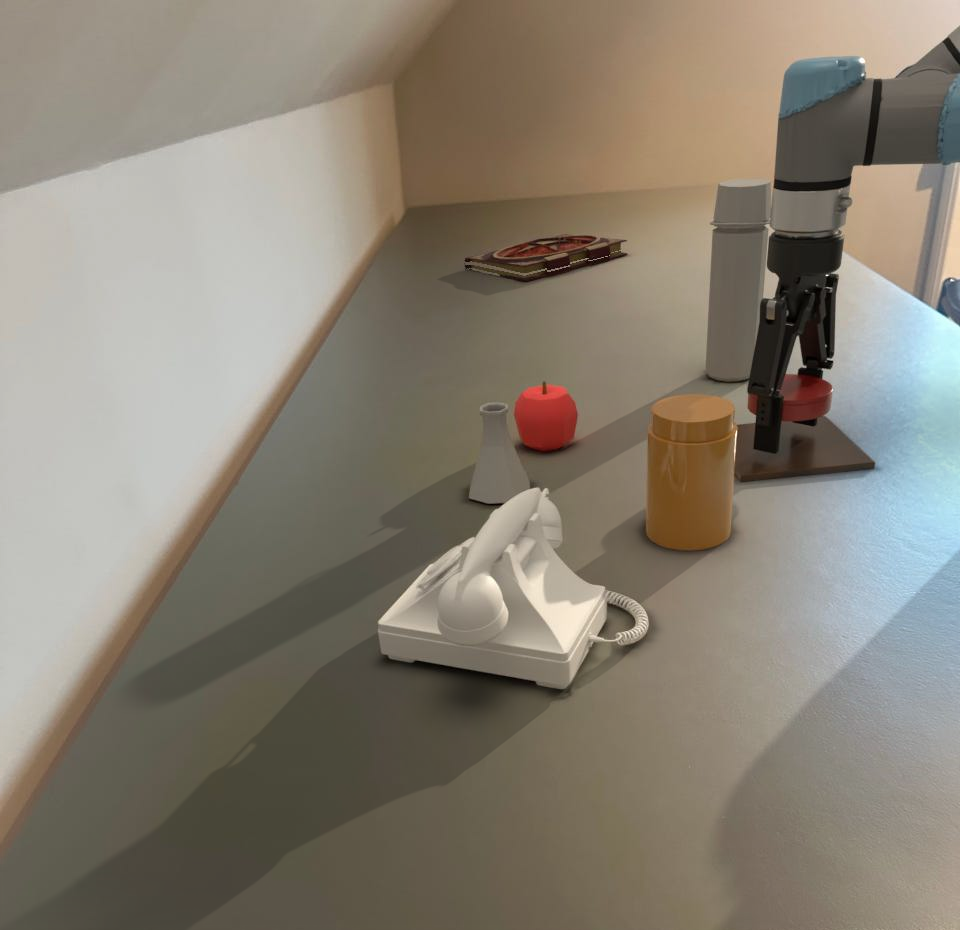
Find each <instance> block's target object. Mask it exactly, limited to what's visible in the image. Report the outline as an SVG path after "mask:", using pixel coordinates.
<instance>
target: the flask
mask: <svg viewBox="0 0 960 930" xmlns="http://www.w3.org/2000/svg"><path fill="white" fill-rule="evenodd" d="M508 413H509V404H508V403H504V402H487V403H484V404H482V405H481V406H479V415H480V416H481V417H482V440H481V443H480V448H479V451H478V457H477V460H476V464H475V467H474V471H473V475H472V478H471V482H470V485H469V493H468V499H470V500H473V501H477V502H481V503H484V504H488V505H490V504H505V503H506V502H507V501H509V500H510V499H512V498H513V497H515V496H516V495H518V494H520V493H522V492H524V491H526V490H529V489H531V481H530V479H529V477H528V474H527V473H526V470H525V468H524V465H523V464H522V462H521V460H520V457H519V456H518V453H517V450H516V447H515V446H514V443H513V441H512V438H511V435H510V434H511V433H510V431H509V428H508V422H507V421H508V420H507V414H508Z"/></svg>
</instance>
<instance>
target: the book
mask: <svg viewBox="0 0 960 930" xmlns="http://www.w3.org/2000/svg"><path fill="white" fill-rule="evenodd" d="M625 242H628V239H619V238H611V237H601V236H599V235H595V234H569V233H564V234H560V235H559V234H558V235H555V236H550V237H545V238H544V237H543V238H537V239H534V240H529V241H525V242H521V243H517V244H514V245H510V246H508V247H504V248H501V249H497V250H493V251H488V252H485V253H481V254H476V255H472V256H467V257H464V261H465V262H470V261H472V262H477V263H482V264H487V265H491V266H496V267H500V268H504V269H507V270H511V271H515V272H520V273H529V272H532V271H537V270H541V269H545V268H547V270H551V269H555V268H560V267H564V266H568V265H570V267H566V268H562V269H559V270H555V271H551V272H547V270H545V271H541V272H537V273H533V274H529V275H526V276H523V275H519V274H514V273H509V272H504V271H499V270H494V269H489V268H484V267H480V266H475V265H465V264H464V268H468V269H469V268H475V269H479V270H483V271H487V272H492V273H497V274H499V275H500V276H503V277H506V278H505V279H508V278H510V279H509V280H513V281H514V280H516V281H519V282H530V281H533V280H537V279H542V278H545V277H547V278H549V277H554V276H557V275H562V274H564V273H568V272H570V271H572V270H575V269H579V268H583V267H592V266H595V265H598V264H604V263H607V262H609V261H610V260H613V259H616V258H621V257H625V256H627V255H628V252H622V248H621V245H622V243H625ZM619 250H621V251H619ZM615 251H618V252H615ZM611 252H614V253H611ZM609 255H610V256H609ZM605 256H608V257H605ZM601 257H604V258H601ZM585 258H589V259H587V260H583V261H579V262H576V263H572V264H570V262H573V261H577V260H581V259H585ZM597 258H601V259H597ZM593 259H597V260H593ZM588 260H593V261H588ZM503 277H502V278H503Z"/></svg>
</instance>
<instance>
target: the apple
mask: <svg viewBox="0 0 960 930" xmlns="http://www.w3.org/2000/svg"><path fill="white" fill-rule="evenodd" d="M576 404H577V403H576V401H575V400H574V399H573V398H572V396H571V395H570V394H569V392H568V390H567V389H566V388H565V386H560V385H552V384H547V381H545V380H543V381H542V385H536V386H531V387H529V388H527V389H525V390H523V391H522V392H521V393H520V395H519V397H518V398H517V399H516V401H515V404H514V410H513V417H514V420H515V421H514V422H515V424H516V429H517V432H518V436H519V439H520V441H521V442H522V444H523V445H525V446H527V447H528V448H530V449H532V450H535V451H540V452H543V453H544V452H549V451H555V450H558V449H560V448H563V447H564V446H566V445H567V444H568V443H569V442H571V441H572V440H573V439H574V438H575V434H576V428H577V424H578V423H577V422H578V416H579V413H578V409H577V405H576Z"/></svg>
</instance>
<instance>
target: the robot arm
mask: <svg viewBox="0 0 960 930" xmlns="http://www.w3.org/2000/svg"><path fill="white" fill-rule="evenodd" d="M782 80H783V81H782V89H781V96H780V103H779V111H778V115H777V117H778V118H777V132H776V147H775V160H774V174H773V175H774V176H773V178H774V179H773V185H772V193H771V215H770V219H769V220H770V224H769V228H771V229H772V230H773V232H772V233H771V234H770V235H768V243H767V255H766V268H767V270H768V271H769V272H770V273H772V274H774V275H776V276H777V278H778V281H777V285H776V289H775V293H774V296H773V298H767V297H763V299H762V300H761V303H760V322H759V328H758V333H757V339H756V344H755V350H754V355H753V360H752V366H751V371H750V377H749V379H748V383H747V388H746V393H747V395H748V394H752V395H757V396H758V399H757V410H756V415H755V422H754V423H755V434H754V446H753V449H755V450H759V451H764V452H769V453H773V454H776V453H777V452H778V450H779V440H780V430H781V420H782V410H783V400H784V396H783V395H779V394H780V391H781V388H782V385H783V381H784V378H785V374H787V370H788V368H789V364H790V360H791V357H792V354H793V351H794V350H793V349H794V347H795V344H796V341H797V337H798V341H799V347H800V354H801V355H800V356H801V361H802V366H801V367H799V368H797V374H799V375H807V376H813V377H817V378H820V379H823V378H824V377H823V375H824V370H832V368H833V366H834V360H831V359H833V358H834V357H835V352H836V351H835V346H836V313H837V312H836V308H837V307H836V305H837V292H838V291H837V290H838V284H839V278H840V275H839V274H838V273H835V272H836V271H838V270H839V269H840V267H841V266H842V259H843V251H844V243H845V234H844V233H843V231H842V230H840V229H842V228H843V227H844V226H845V225H846V224H847V223H846V222H847V215H848V208H850V207H851V206H852V204H853V198H852V197H850V189H851V184H852V176H853V175H852V173H853V169H854V167H858V166H859V167H861V166H863V167H870V166H882V165H883V166H889V165H890V166H891V165H892V166H893V165H931V164H932V165H933V164H935V165H936V164H938V165H939V164H940V165H941V164H942V166H949V165H951V164H956V163H960V25H959V26H957V27H956V28H955V29H954V30H953V31H952V32H950V33H949V34H948V35H947V37H945V38H944V39H943V40H942V41H940V42H939V43H938V44H937V45H936V46H934V47H933V48H932V49H931V50H929V51H928V52H927V53H926V54H925V55H924V56H922V57H921V58H920V59H918V61H916V62H915V63H913V64H911V65H908V66H906V67H905V68H903V69H902V70H901V71H900V72H899V73H898V74H896V76H895V77H893V78H882V77H881V78H874V77H867V71H866V61H865V59H864V58H863V57H862V56H858V55H844V56H821V57H810V58H803V59H799V60H796V61H794V62H792V63H791V64H790V65H789V67H788V68H787V69H786V70H785V71H784V74H783V79H782ZM817 419H818V418H816V419H811V420H805V421H793V423H798V424H803V425H808V426H813V427H814V426H816V425H817Z"/></svg>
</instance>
